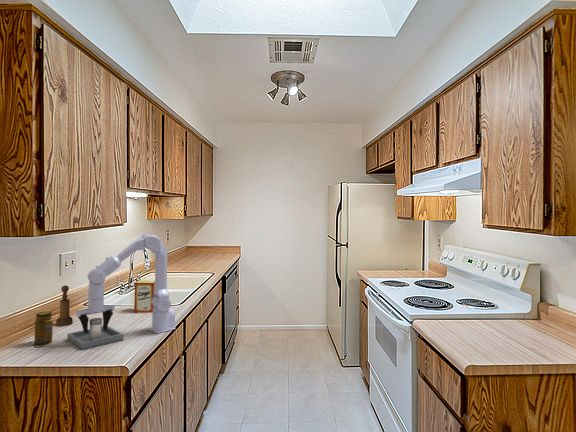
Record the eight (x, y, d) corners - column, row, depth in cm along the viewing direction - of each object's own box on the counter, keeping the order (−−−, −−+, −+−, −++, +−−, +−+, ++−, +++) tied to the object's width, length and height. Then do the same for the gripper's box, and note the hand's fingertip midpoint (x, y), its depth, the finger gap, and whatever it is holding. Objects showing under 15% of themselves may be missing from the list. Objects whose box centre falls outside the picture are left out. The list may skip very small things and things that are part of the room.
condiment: (50, 338, 158) (51, 309, 158) (57, 343, 153) (57, 314, 152) (30, 342, 153) (30, 312, 153) (35, 348, 147) (36, 317, 147)
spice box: (155, 309, 207) (156, 279, 207) (153, 312, 201) (153, 282, 201) (137, 309, 206) (138, 279, 206) (134, 312, 200) (134, 282, 199)
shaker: (98, 335, 161) (99, 317, 161) (103, 338, 158) (103, 319, 158) (87, 338, 158) (87, 319, 158) (92, 341, 155) (92, 321, 154)
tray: (107, 331, 169) (107, 325, 169) (123, 340, 158) (123, 334, 158) (67, 339, 157) (67, 333, 157) (81, 350, 147) (81, 343, 147)
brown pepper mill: (57, 327, 173) (58, 287, 172) (54, 323, 178) (55, 285, 177) (74, 324, 177) (74, 286, 177) (70, 321, 182) (71, 283, 182)
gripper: (109, 293, 166) (109, 324, 166) (73, 299, 155) (72, 332, 155) (116, 296, 161) (116, 328, 161) (79, 302, 150) (79, 336, 150)
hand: (95, 330), depth 158 cm, fingers open, 7 cm apart
